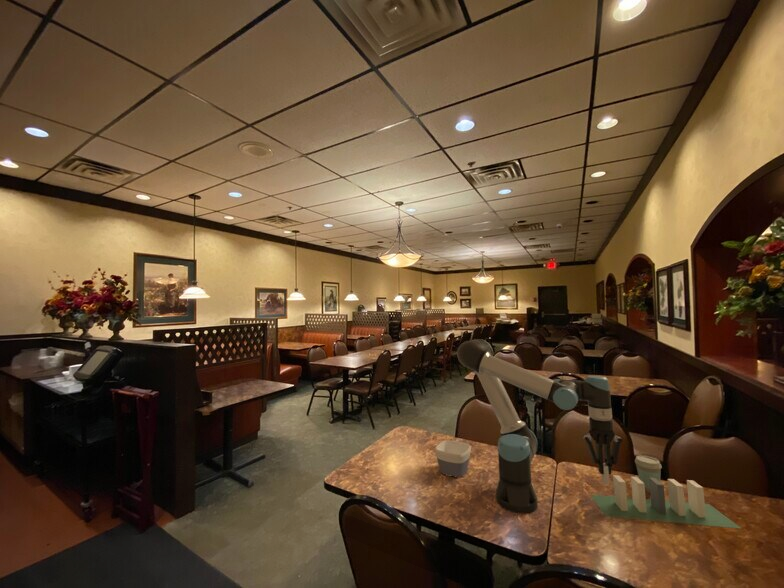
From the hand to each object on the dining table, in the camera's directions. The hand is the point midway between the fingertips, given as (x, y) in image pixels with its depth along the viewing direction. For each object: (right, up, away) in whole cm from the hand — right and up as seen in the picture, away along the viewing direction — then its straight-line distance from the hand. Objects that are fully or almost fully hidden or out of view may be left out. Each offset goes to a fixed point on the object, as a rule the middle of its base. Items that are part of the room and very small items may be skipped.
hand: (605, 482), depth 119 cm
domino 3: (+22, -7, -5) cm, 24 cm away
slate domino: (+17, -8, -4) cm, 19 cm away
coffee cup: (+24, -9, +10) cm, 28 cm away
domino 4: (+28, -7, -6) cm, 30 cm away
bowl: (-51, -12, +29) cm, 60 cm away
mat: (+17, -8, -4) cm, 19 cm away
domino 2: (+11, -8, -3) cm, 13 cm away
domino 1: (+5, -8, -1) cm, 9 cm away
